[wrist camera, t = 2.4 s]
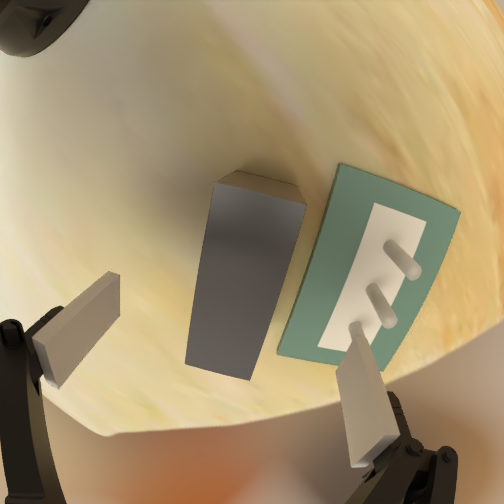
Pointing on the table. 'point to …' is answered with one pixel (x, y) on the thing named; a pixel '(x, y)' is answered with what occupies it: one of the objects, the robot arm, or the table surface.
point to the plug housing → (242, 271)
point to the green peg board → (367, 269)
